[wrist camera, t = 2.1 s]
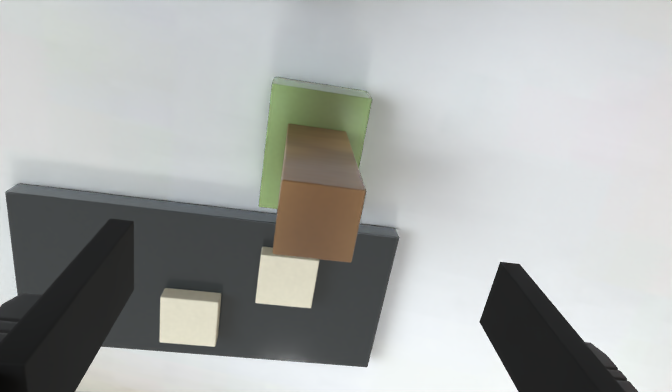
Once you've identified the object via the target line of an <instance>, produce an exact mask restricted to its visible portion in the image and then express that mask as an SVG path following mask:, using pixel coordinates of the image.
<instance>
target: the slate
mask: <svg viewBox="0 0 672 392" xmlns="http://www.w3.org/2000/svg"><path fill="white" fill-rule="evenodd" d="M5 194H6V202H7V210H8V219H9V227H10V235H11V243H12V251H13V260H14V268H15V276H16V284H17V293H18V295H20V294H22V293H31V294H42V295H43V294H44V292H45V291H46V290H47V289H48V288H49V287H50V286H51V284H52V283H53V282H54V281H55V280H56V279H57V278H58V277H59V275H60V274H61V273H62V272H63V271H64V270H65V269H66V268H67V266H68V265H69V264H70V263H71V262H72V261H73V260H74V258H75V257H76V256H77V255H78V254H79V253H80V252H81V251H82V249H83V248H84V247H85V246H86V245H87V244H88V243H89V242H90V240H91V239H92V238H93V237H94V236H95V235H96V234H97V232H98V231H99V230H100V229H101V228H102V227H103V226H104V225H105V223H106V222H107V221H108V220H109V219H110V218H111V219H120V220H129V221H134V291H133V292H132V294H131V296H130V298H129V299H128V301H127V303H126V304H125V306H124V308H123V310H122V311H121V313H120V315H119V316H118V318H117V320H116V322H115V323H114V325H113V327H112V328H111V330H110V332H109V334H108V335H107V337H106V339H105V340H104V342H103V344H102V346H101V347H114V348H127V349H140V350H153V351H166V352H178V353H191V354H204V355H217V356H230V357H243V358H255V359H268V360H281V361H294V362H307V363H320V364H332V365H345V366H358V367H367V366H368V362H369V358H370V354H371V350H372V346H373V342H374V338H375V334H376V330H377V326H378V322H379V318H380V314H381V310H382V306H383V301H384V297H385V293H386V289H387V285H388V281H389V277H390V273H391V269H392V265H393V261H394V257H395V253H396V249H397V244H398V240H399V236H398V234H397V231H396V229H395V228H390V227H381V226H373V225H365V224H359V229H358V233H357V238H356V243H355V248H354V253H353V258H352V262H341V261H331V260H322V259H319V266H318V271H317V277H316V283H315V289H314V294H313V300H312V306H311V308H302V307H291V306H281V305H270V304H259V303H255V300H256V292H257V283H258V274H259V266H260V257H261V251H262V247H271V248H273V243H274V234H275V225H276V217H277V214H272V213H263V212H255V211H246V210H238V209H229V208H221V207H212V206H204V205H196V204H187V203H179V202H170V201H162V200H153V199H145V198H136V197H128V196H119V195H111V194H103V193H94V192H86V191H77V190H69V189H60V188H52V187H43V186H35V185H27V184H17V185H15V186H14V187H12V188H11V189H9V190H7V191H6V192H5ZM165 288H172V289H183V290H194V291H204V292H215V293H221V305H220V317H219V329H218V338H217V342H216V346H215V347H211V346H198V345H186V344H173V343H161V342H160V341H159V339H160V297H161V295H162V293H163V291H164V289H165Z"/></svg>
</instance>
